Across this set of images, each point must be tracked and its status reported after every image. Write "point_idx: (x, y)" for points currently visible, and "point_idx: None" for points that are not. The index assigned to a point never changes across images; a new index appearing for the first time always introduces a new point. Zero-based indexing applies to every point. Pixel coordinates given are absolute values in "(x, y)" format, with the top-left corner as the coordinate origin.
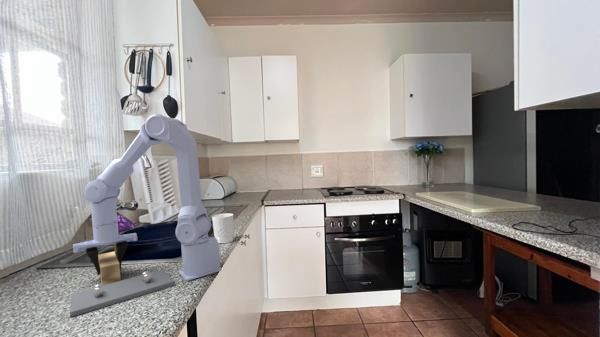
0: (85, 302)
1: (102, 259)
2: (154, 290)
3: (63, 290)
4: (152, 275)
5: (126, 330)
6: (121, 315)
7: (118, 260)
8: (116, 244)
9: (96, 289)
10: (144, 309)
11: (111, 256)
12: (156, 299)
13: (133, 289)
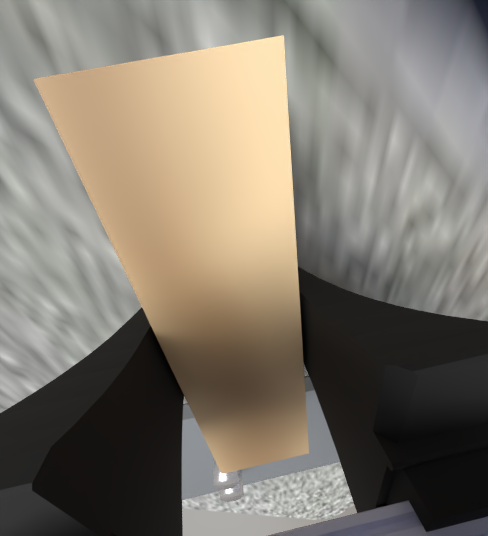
0: (203, 477)
1: (191, 352)
2: None
3: (47, 343)
4: None
5: (286, 516)
6: (280, 493)
7: (304, 357)
8: (386, 475)
9: (229, 500)
10: (317, 487)
11: (260, 306)
12: None
13: (313, 455)
